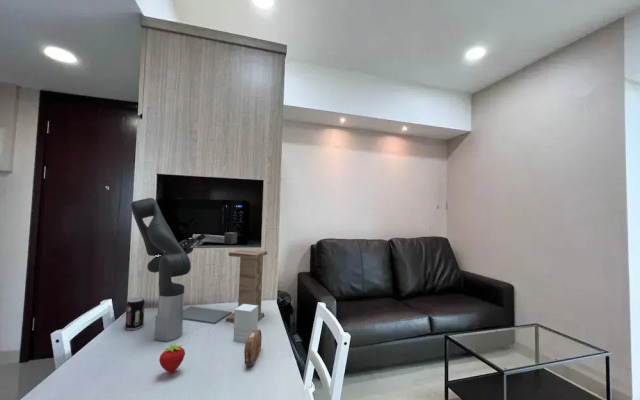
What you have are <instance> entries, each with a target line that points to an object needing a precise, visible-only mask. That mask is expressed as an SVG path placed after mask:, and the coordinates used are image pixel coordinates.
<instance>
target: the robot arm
mask: <svg viewBox="0 0 640 400" xmlns="http://www.w3.org/2000/svg"><path fill="white" fill-rule="evenodd" d="M130 207H131V212H132V215H133V217H134V221H135V223H136V226H137V228H138V230H139V233H140V234H141V238H142V239H143V243H144V247H145V250H146V254H147V255H148V256H149V257H150V256H151V257H153V258H151V260H150V261H149V262H148V263H147V267H146V268H147V270H148V271H149V272H150V273H153V274H154V273H155V274H156V273H158V307H157V314H156V315H155V321H154V323H155V324H154V325H155V326H154V339H153V340H155V341H160V342H161V341H162V342H169V341H174V340H177V339H178V338H180V337H182V335H183V327H184V326H183V323H184V321H183V320H184V319H183V310H184V304H185V303H184V302H185V285H183V283H177V282H173V281H172V279H173V278H174V277H175V278H176V277H181V276H186V275H187V274H189V272H191V268H192V267H191V264H192V263H191V260H190V258H189V256H188V255H190V254H191V253H192V252H193V250H194V248H196V247H197V246H199V245H201V246H202V245H203V244H204V243H205V242H206V241H200V240H202V239H204V238H205V235H210V234H209V233H205V234H204V233H201V235H200V236H198V237H195V238H193V237H192V238H190V239H183V240H181V241H178V240H177V239H176V237H175V235H174V233H173V231H172V229H171V228H170V226H169V224H168V223H167V221H166V219H165V218H164V215H163V214H162V211H161V208H160V206H159V204H158V202H157V200H156V199H155V198H154V197H153V198H152V197H147V198H143V199H137V200H134V201H132V202H131V203H130ZM149 217H151V218H152V219H151V220H150V222H149V224H148V225H147V224H145V222H144V219H146V218H149ZM158 254H159V255H161V256H159V257H155V258H154V256H155V255H158Z"/></svg>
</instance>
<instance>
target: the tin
mask: <svg viewBox="0 0 640 400" xmlns="http://www.w3.org/2000/svg"><path fill="white" fill-rule="evenodd" d="M262 340H263V339H262V330H261V329H258V330H253V331H252V332H251V334H250V336H249V337H248V339H247V341H246V342H245V344H244V350H243V353H244V365H245V366H254V365H255V364H256V362H257V359H258V357H259V355H260V353H261V349H262Z"/></svg>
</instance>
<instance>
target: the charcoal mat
mask: <svg viewBox="0 0 640 400" xmlns="http://www.w3.org/2000/svg"><path fill="white" fill-rule="evenodd" d="M232 314H233V313H232V311H229V310H223V309H222V310H220V309H215V308H206V307H199V306H192V305H191V306H188V307H186V308H183V320H184V321H192V322H199V323H203V324H204V323H205V324H210V325H211V324H212V325H215V324H217V323H219V322H220V321H222V320H223V319H226V318H227V317H229V316H230V315H232Z"/></svg>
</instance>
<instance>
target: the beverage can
mask: <svg viewBox="0 0 640 400" xmlns="http://www.w3.org/2000/svg"><path fill="white" fill-rule="evenodd" d="M145 303H146V301H145V299H144V297H133V298H129V299H128V300H127V302H126V307H125V308H126V309H125V325H124V328H125V329H126V330H128V331H136V330H139V329H140V328H142V327H143V326H144V319H145V306H146V305H145Z"/></svg>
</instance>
